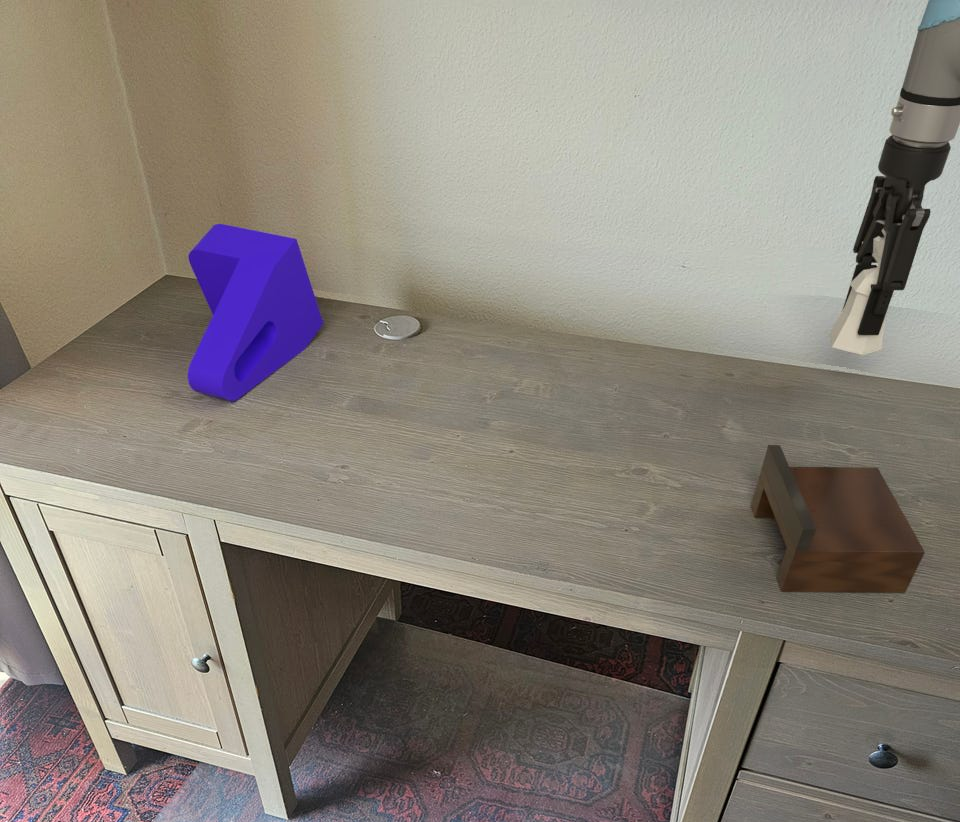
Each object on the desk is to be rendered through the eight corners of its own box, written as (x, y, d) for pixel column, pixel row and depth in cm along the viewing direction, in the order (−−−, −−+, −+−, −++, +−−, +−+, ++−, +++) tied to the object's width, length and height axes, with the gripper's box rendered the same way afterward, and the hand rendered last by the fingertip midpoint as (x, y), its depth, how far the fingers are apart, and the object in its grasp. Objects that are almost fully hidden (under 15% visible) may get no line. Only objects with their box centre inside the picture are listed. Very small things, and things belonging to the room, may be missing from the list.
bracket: (323, 323, 139) (239, 304, 143) (296, 238, 126) (205, 220, 130) (242, 433, 128) (155, 408, 133) (204, 353, 115) (108, 328, 120)
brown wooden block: (861, 507, 108) (886, 445, 102) (905, 593, 97) (936, 530, 90) (750, 506, 108) (768, 444, 102) (781, 592, 97) (803, 528, 90)
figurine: (892, 345, 122) (940, 211, 109) (851, 358, 119) (896, 222, 107) (855, 326, 126) (897, 195, 114) (814, 338, 124) (853, 205, 111)
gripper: (864, 116, 111) (814, 293, 128) (916, 163, 98) (854, 354, 114) (922, 116, 111) (865, 293, 128) (983, 163, 98) (910, 355, 114)
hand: (860, 322), depth 121 cm, fingers closed on figurine, 6 cm apart
